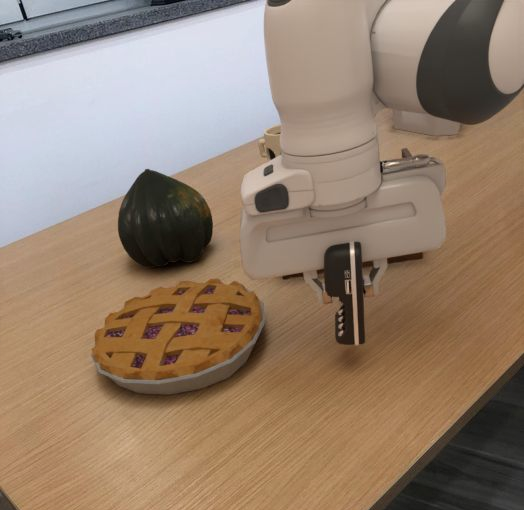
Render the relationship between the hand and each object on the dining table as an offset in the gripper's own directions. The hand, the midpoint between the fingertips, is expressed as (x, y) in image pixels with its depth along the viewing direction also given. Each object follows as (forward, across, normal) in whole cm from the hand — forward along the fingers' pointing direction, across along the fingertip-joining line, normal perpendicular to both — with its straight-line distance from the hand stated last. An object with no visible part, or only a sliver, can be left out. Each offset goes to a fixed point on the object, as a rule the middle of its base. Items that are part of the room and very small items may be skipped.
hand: (347, 298), depth 64 cm
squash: (+8, +25, -35) cm, 44 cm away
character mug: (+8, +4, -52) cm, 53 cm away
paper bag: (+9, -28, -85) cm, 90 cm away
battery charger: (+4, +1, 0) cm, 4 cm away
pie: (+8, +21, -7) cm, 23 cm away
